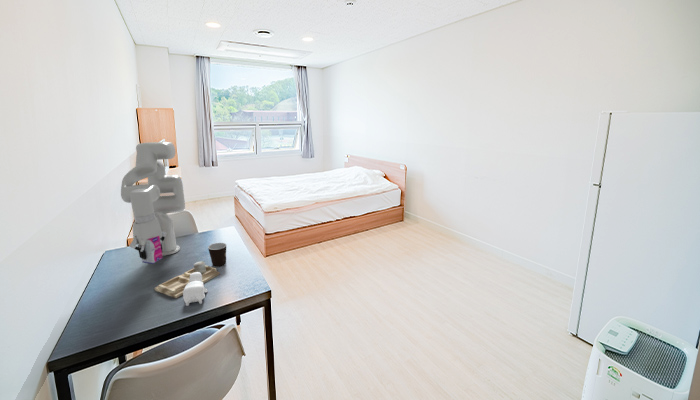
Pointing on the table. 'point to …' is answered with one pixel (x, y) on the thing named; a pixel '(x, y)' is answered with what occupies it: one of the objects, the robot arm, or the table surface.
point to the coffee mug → (218, 254)
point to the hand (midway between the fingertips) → (151, 254)
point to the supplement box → (153, 250)
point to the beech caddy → (186, 280)
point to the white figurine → (194, 289)
